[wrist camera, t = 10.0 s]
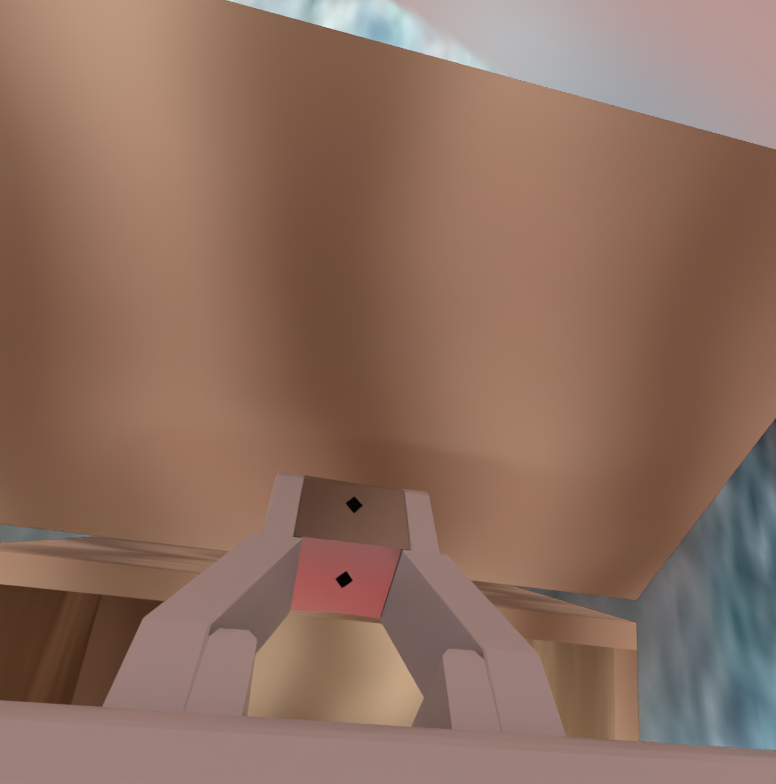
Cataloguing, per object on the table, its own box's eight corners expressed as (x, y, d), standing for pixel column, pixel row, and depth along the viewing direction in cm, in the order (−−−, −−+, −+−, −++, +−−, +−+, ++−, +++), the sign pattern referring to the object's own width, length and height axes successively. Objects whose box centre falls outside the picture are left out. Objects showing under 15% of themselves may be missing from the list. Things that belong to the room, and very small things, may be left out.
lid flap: (-252, -129, 6) (-210, -114, 7) (-35, 519, 12) (-21, 506, 13) (946, 195, 9) (918, 191, 9) (636, 600, 15) (629, 586, 15)
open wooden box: (13, 851, 19) (-289, 1196, 9) (103, 535, 22) (-47, 545, 12) (494, 868, 21) (650, 1148, 12) (507, 584, 25) (636, 622, 15)
